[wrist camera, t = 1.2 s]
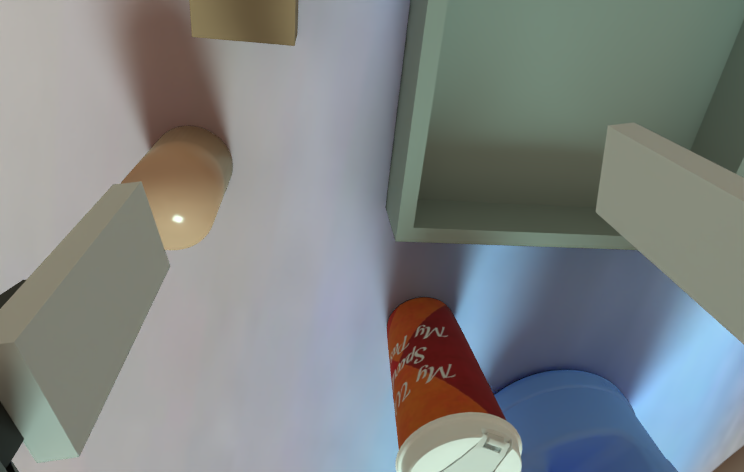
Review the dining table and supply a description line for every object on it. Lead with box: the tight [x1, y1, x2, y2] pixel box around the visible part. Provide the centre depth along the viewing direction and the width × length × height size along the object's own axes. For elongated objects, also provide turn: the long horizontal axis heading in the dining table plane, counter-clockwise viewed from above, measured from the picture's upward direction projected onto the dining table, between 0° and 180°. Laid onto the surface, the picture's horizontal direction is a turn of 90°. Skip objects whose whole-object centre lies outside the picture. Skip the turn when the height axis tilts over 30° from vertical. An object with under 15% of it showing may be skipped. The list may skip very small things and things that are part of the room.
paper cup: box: [387, 297, 522, 472], centre depth 35 cm, size 8×8×14 cm
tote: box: [386, 0, 744, 250], centre depth 30 cm, size 22×20×5 cm
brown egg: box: [121, 126, 233, 250], centre depth 30 cm, size 5×5×7 cm
